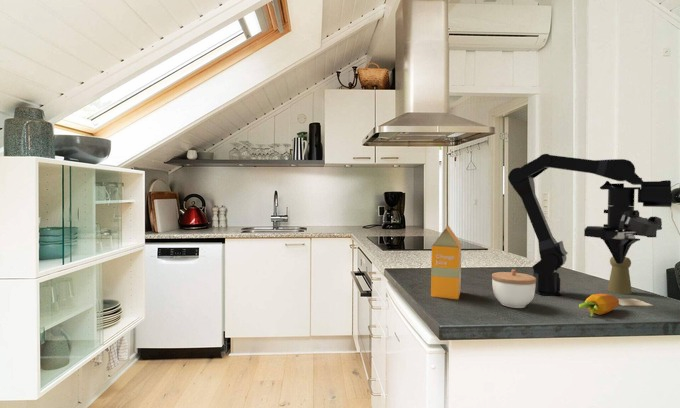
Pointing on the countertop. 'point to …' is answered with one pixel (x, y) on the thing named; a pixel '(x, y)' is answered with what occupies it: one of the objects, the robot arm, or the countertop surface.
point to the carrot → (600, 303)
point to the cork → (620, 277)
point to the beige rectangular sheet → (632, 302)
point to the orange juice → (446, 266)
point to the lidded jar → (513, 288)
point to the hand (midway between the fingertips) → (619, 263)
